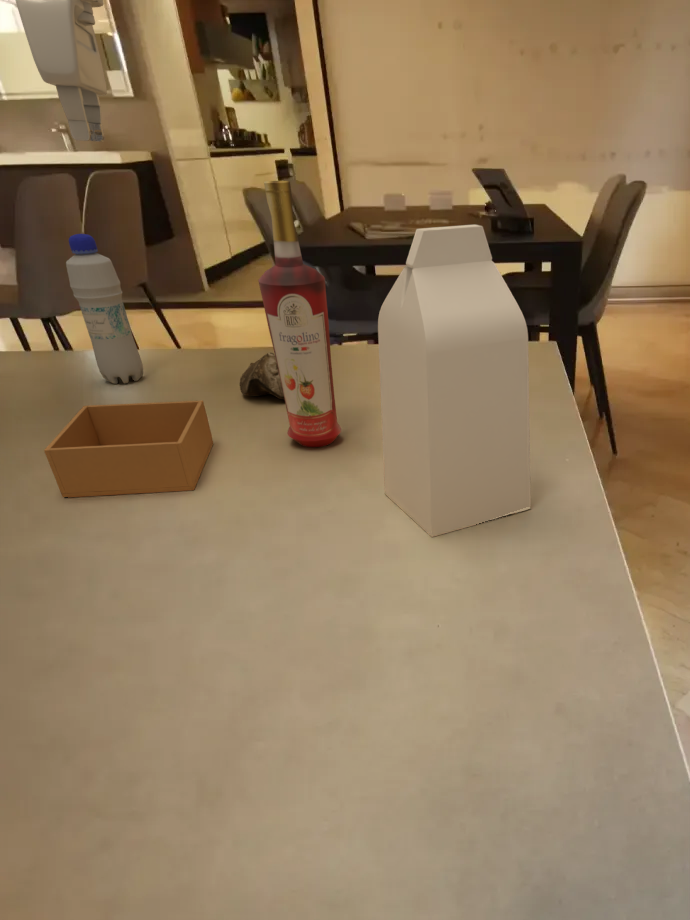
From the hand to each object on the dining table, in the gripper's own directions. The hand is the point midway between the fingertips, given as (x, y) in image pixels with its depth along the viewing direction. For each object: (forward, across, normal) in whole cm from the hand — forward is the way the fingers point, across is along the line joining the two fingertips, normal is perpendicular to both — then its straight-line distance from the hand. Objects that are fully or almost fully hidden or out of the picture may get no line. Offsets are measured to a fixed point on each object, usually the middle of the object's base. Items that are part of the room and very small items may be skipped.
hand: (90, 141), depth 81 cm
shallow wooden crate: (+32, +20, +1) cm, 38 cm away
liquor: (+31, +17, +22) cm, 41 cm away
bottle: (+31, -17, -5) cm, 35 cm away
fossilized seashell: (+30, -3, +17) cm, 35 cm away
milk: (+31, +39, +35) cm, 61 cm away
